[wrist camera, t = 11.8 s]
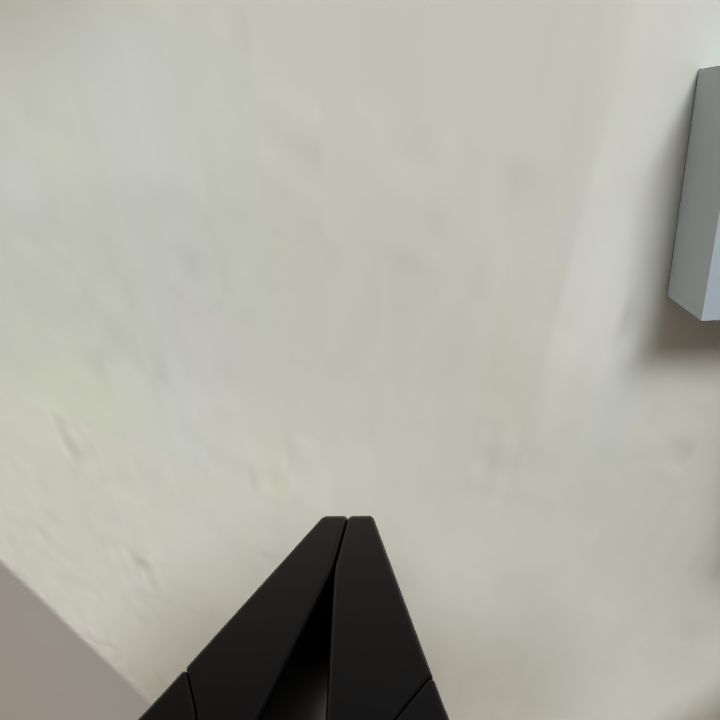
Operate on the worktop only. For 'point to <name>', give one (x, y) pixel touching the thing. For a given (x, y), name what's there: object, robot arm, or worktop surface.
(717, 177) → the pale blue eraser
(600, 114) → the worktop surface
